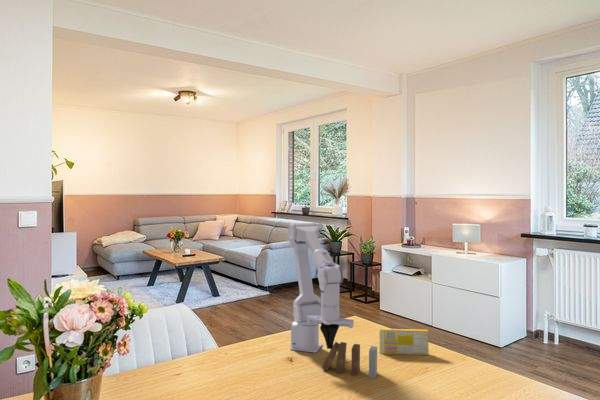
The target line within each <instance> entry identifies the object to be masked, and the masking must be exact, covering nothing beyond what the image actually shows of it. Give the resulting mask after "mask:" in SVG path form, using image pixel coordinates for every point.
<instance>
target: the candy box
mask: <svg viewBox="0 0 600 400" xmlns="http://www.w3.org/2000/svg"><path fill="white" fill-rule="evenodd" d="M378 333H379V348H378V349H379V354H386V355H387V354H389V355H407V356H408V355H411V356H413V355H414V356H415V355H416V356H429V355H430V354H429V351H430V350H429V330H428V329H421V328H420V329H419V328H418V329H416V328H415V329H412V328H411V329H409V328H383V327H382V328H380V327H379V332H378Z"/></svg>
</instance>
